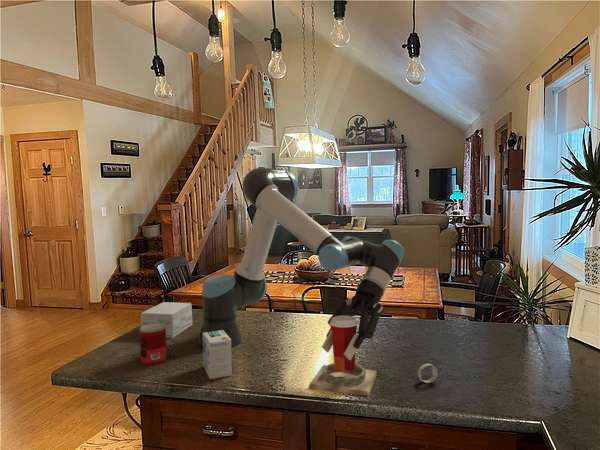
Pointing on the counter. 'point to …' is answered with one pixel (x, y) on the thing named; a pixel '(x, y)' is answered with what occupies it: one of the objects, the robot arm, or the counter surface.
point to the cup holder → (344, 380)
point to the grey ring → (432, 372)
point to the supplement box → (169, 317)
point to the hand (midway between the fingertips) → (335, 353)
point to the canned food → (152, 343)
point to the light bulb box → (217, 354)
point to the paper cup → (343, 341)
